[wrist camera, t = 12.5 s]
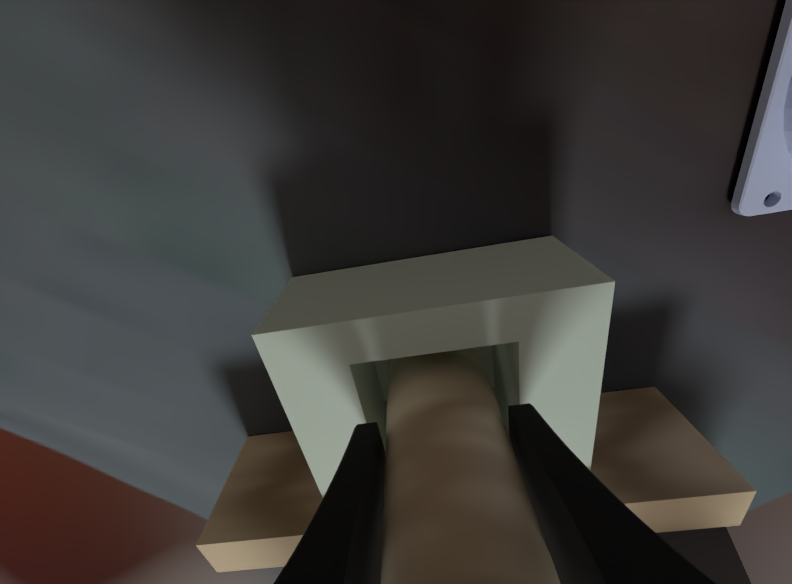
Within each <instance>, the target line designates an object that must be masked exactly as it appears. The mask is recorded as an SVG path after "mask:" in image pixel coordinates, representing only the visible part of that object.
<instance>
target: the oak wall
mask: <svg viewBox="0 0 792 584" xmlns="http://www.w3.org/2000/svg"><path fill="white" fill-rule="evenodd" d="M590 471H591V472H592V473H593V474H594V475H595V476H596V477H597V478H598V479H599V480H600V481H601V482H602V483H603V484H604V485H605V486H606V487H607V488H608V489H609V490H610V491H611V492H612V493H613V494H614V495H615V496H616V497H617V498H618V499H619V500H620V501H622V502H623V503H624V504H625V505H626V506H627V507H628V508H629V509H630V510H631V511H632V512H633V513H634V514H635V515H636V516H638V517H639V518H640V519H641V520H642V521H643V522H644V523H645V524H646V525H647V526H649V527H650V528H651V529H652V530H653V531H654V532H655V533H660V532H671V531H682V530H693V529H704V528H716V527H727V526H738V525H740V524H741V522H742V520H743V518H744V516H745V514H746V512H747V510H748V508H749V506H750V504H751V502H752V500H753V498H754V496H755V494H756V490H755V489H754V488H753V487H752V486H751V485H750V484H749V483H748V482H747V481H746V479H745V478H744V477H743V476H742V475H741V474H740V473H739V472H738V471H737V470H736V469H735V468H734V467H733V466H732V465H731V464H730V463H729V462H728V461H727V460H726V459H725V458H724V457H723V456H722V455H721V454H720V453H719V452H718V451H717V450H716V449H715V448H714V447H713V446H712V445H711V444H710V443H709V442H708V440H707V439H706V438H705V437H704V436H703V435H702V434H701V433H700V432H699V431H698V430H697V429H696V428H695V427H694V426H693V425H692V424H691V423H690V422H689V421H688V420H687V419H686V418H685V417H684V416H683V415H682V414H681V413H680V412H679V411H678V410H677V409H676V408H675V407H674V406H673V405H672V404H671V403H670V401H669V400H668V399H667V398H666V397H665V396H664V395H663V394H662V393H661V392H660V391H659V390H658V389H657V388H656V387H655V386H654V387H646V388H638V389H630V390H622V391H614V392H605V393H601V394H600V401H599V409H598V417H597V424H596V432H595V440H594V447H593V455H592V462H591V470H590ZM322 499H323V497H322V495H321V493H320V491H319V488H318V486H317V484H316V481H315V479H314V477H313V475H312V472H311V470H310V468H309V465H308V463H307V461H306V459H305V456H304V454H303V452H302V449H301V447H300V445H299V443H298V440H297V438H296V436H295V433H294V431H288V432H280V433H272V434H264V435H256V436H248V437H247V439H246V441H245V443H244V445H243V448H242V450H241V452H240V454H239V456H238V458H237V460H236V462H235V464H234V467H233V469H232V471H231V473H230V475H229V477H228V479H227V481H226V483H225V485H224V488H223V490H222V492H221V494H220V496H219V498H218V500H217V502H216V504H215V507H214V509H213V511H212V513H211V515H210V517H209V519H208V521H207V523H206V525H205V528H204V530H203V532H202V534H201V536H200V538H199V540H198V542H197V544H196V546H197V547H198V549H199V550H200V551H201V552H202V554H203V555H204V556H205V558H206V559H207V560H208V561H209V563H210V564H211V565H212V566H213V568H214V569H215V570H216V571H217V572H226V571H237V570H248V569H259V568H271V567H282V566H285V565H286V563H287V562H288V560H289V558H290V557H291V555H292V553H293V552H294V550H295V548H296V547H297V545H298V543H299V542H300V540H301V538H302V536H303V535H304V533H305V531H306V529H307V527H308V525H309V524H310V522H311V520H312V518H313V516H314V514H315V513H316V511H317V509H318V507H319V505H320V503H321V501H322Z"/></svg>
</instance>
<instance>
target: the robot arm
mask: <svg viewBox="0 0 792 584" xmlns="http://www.w3.org/2000/svg"><path fill="white" fill-rule="evenodd" d="M767 195H769V197H768V199H767V200H766V201H765V202H764V200H765V198H766V196H767ZM731 208H732V210H733V212H735V213H737V214H740V215H744V216H754V215H761V214H767V213H773V212H780V211H786V210H792V0H786V2H785V6H784V10H783V13H782V17H781V21H780V24H779V28H778V32H777V36H776V39H775V43H774V47H773V50H772V54H771V58H770V61H769V65H768V69H767V73H766V76H765V80H764V84H763V87H762V91H761V95H760V98H759V102H758V106H757V110H756V113H755V117H754V121H753V124H752V128H751V132H750V135H749V139H748V143H747V147H746V150H745V154H744V158H743V161H742V165H741V169H740V172H739V176H738V180H737V184H736V187H735V191H734V195H733V198H732V202H731ZM508 417H509V438H510V441H511V444H512V447H513V450H514V452H515V455H516V458H517V461H518V464H519V467H520V469H521V472H522V475H523V478H524V481H525V484H526V487H527V489H528V492H529V495H530V498H531V501H532V504H533V506H534V509H535V512H536V515H537V518H538V521H539V524H540V526H541V529H542V532H543V535H544V538H545V541H546V543H547V546H548V549H549V552H550V555H551V558H552V561H553V563H554V566H555V569H556V572H557V575H558V578H559V580H560V583H561V584H717V583H715V582H714V581H713V580H711V579H710V578H709V577H708V576H706V575H705V574H704V573H703V572H701V571H700V570H699V569H698V568H697V567H695V566H694V565H693V564H692V563H691V562H689V561H688V560H687V559H686V558H685V557H683V556H682V555H681V554H680V553H679V552H677V551H676V550H675V549H674V548H673V547H672V546H670V545H669V544H668V543H667V542H666V541H665V540H663V539H662V538H661V537H660V536H659V535H658V534H657V533H655V532H654V531H653V530H652V529H651V528H650V527H649V526H647V525H646V524H645V523H644V522H643V521H642V520H641V519H640V518H639V517H638V516H636V515H635V514H634V513H633V512H632V511H631V510H630V509H629V508H628V507H627V506H626V505H625V504H624V503H623V502H622V501H620V500H619V499H618V498H617V497H616V496H615V495H614V494H613V493H612V492H611V491H610V490H609V489H608V488H607V487H606V486H605V485H604V484H603V483H602V482H601V481H600V480H599V479H598V478H597V477H596V476H595V475H594V474H593V473H592V472H591V471H590V470H589V469H588V468H587V467H586V466H585V465H584V463H583V462H582V461H581V460H580V459H579V458H578V457H577V456H576V455H575V454H574V453H573V452H572V451H571V450H570V449H569V448H568V446H567V445H566V444H565V443H564V442H563V441H562V440H561V439H560V437H559V436H558V435H557V434H556V433H555V432H554V431H553V429H552V428H551V427H550V426H549V425H548V424H547V422H546V421H545V420H544V419H543V417H542V416H541V415H540V414H539V413H538V411H537V410H536V409H535V407H534V406H533V405H531V404H530V403H527V404H519V405H511V406H508ZM384 478H385V449H384V445H383V442H382V438H381V434H380V431H379V427H378V424H377V422H372V423H364V424H357V425H356V426H355V428H354V430H353V433H352V436H351V438H350V441H349V443H348V446H347V448H346V450H345V453H344V455H343V457H342V459H341V462H340V464H339V466H338V468H337V471H336V473H335V475H334V477H333V479H332V481H331V483H330V485H329V487H328V489H327V491H326V493H325V495H324V497H323V499H322V501H321V503H320V505H319V507H318V509H317V511H316V513H315V514H314V516H313V518H312V520H311V522H310V524H309V525H308V527H307V529H306V531H305V533H304V535H303V536H302V538H301V540H300V542H299V543H298V545H297V547H296V548H295V550H294V552H293V553H292V555H291V557H290V558H289V560H288V562H287V563H286V565H285V566H284V568H283V570H282V571H281V573H280V574H279V576H278V578H277V579H276V581H275V582H274V584H381V559H382V532H383V505H384Z"/></svg>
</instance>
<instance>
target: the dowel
mask: <svg viewBox="0 0 792 584" xmlns="http://www.w3.org/2000/svg"><path fill="white" fill-rule="evenodd" d="M381 584H561V583H560V580H559V578H558V575H557V572H556V569H555V566H554V563H553V561H552V558H551V555H550V552H549V549H548V546H547V543H546V541H545V538H544V535H543V532H542V529H541V526H540V524H539V521H538V518H537V515H536V512H535V509H534V506H533V504H532V501H531V498H530V495H529V492H528V489H527V487H526V484H525V481H524V478H523V475H522V472H521V469H520V467H519V464H518V461H517V458H516V455H515V452H514V450H513V447H512V444H511V441H510V438H509V435H508V432H507V430H506V427H505V424H504V421H503V418H502V415H501V413H500V410H499V407H498V404H497V401H496V398H495V396H494V393H493V390H492V387H491V384H490V381H489V378H488V376H487V373H486V370H485V367H484V364H483V361H482V359H481V356H480V353H479V350H478V347H475V348H468V349H460V350H453V351H446V352H438V353H431V354H424V355H417V356H409V357H402V358H395V359H389V371H388V398H387V425H386V451H385V478H384V505H383V532H382V559H381Z"/></svg>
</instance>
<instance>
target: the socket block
mask: <svg viewBox="0 0 792 584" xmlns="http://www.w3.org/2000/svg"><path fill="white" fill-rule="evenodd" d="M614 287H615V281H614V280H613V279H611V278H610V277H609V276H607V275H606V274H604V273H603V272H602V271H600V270H599V269H598V268H596V267H595V266H593V265H592V264H591V263H589V262H588V261H587V260H585V259H584V258H583V257H581V256H580V255H578V254H577V253H576V252H574V251H573V250H572V249H570V248H569V247H567V246H566V245H565V244H563V243H562V242H561V241H559V240H558V239H557V238H555V237H554V236H546V237H540V238H534V239H527V240H521V241H515V242H509V243H502V244H496V245H490V246H484V247H478V248H471V249H465V250H459V251H453V252H446V253H440V254H434V255H428V256H422V257H415V258H409V259H403V260H397V261H390V262H384V263H378V264H372V265H366V266H359V267H353V268H347V269H341V270H334V271H328V272H322V273H316V274H310V275H303V276H297V277H291V278H290V280H289V281H288V283H287V284H286V286H285V287H284V288H283V290H282V291H281V293H280V294H279V296H278V297H277V299H276V300H275V302H274V303H273V305H272V306H271V307H270V309H269V310H268V312H267V313H266V315H265V316H264V318H263V319H262V321H261V322H260V324H259V325H258V327H257V328H256V329H255V331H254V332H253V334H252V337H253V340H254V342H255V344H256V347H257V349H258V351H259V353H260V356H261V358H262V360H263V363H264V365H265V367H266V369H267V372H268V374H269V376H270V379H271V381H272V383H273V385H274V388H275V390H276V392H277V395H278V397H279V399H280V401H281V404H282V406H283V408H284V411H285V413H286V415H287V417H288V420H289V422H290V424H291V427H292V429H293V431H294V433H295V436H296V438H297V440H298V443H299V445H300V447H301V449H302V452H303V454H304V456H305V459H306V461H307V463H308V465H309V468H310V470H311V472H312V475H313V477H314V479H315V481H316V484H317V486H318V488H319V491H320V493H321V495H322V497H324V495H325V493H326V491H327V489H328V487H329V485H330V483H331V481H332V479H333V477H334V475H335V473H336V471H337V468H338V466H339V464H340V462H341V459H342V457H343V455H344V453H345V450H346V448H347V446H348V443H349V441H350V438H351V436H352V433H353V430H354V428H355V426H356V425H357V424H364V423H372V422H377V424H378V427H379V431H380V434H381V438H382V442H383V445H384V449H385V451H386V425H387V398H388V371H389V359H395V358H402V357H409V356H417V355H424V354H431V353H438V352H446V351H453V350H460V349H468V348H475V347H478V350H479V353H480V356H481V359H482V361H483V364H484V367H485V370H486V373H487V376H488V378H489V381H490V384H491V387H492V390H493V393H494V396H495V398H496V401H497V404H498V407H499V410H500V413H501V415H502V418H503V421H504V424H505V427H506V430H507V432H508V435H509V417H508V406H511V405H519V404H527V403H530V404H531V405H533V406H534V407H535V409H536V410H537V411H538V413H539V414H540V415H541V416H542V417H543V419H544V420H545V421H546V422H547V424H548V425H549V426H550V427H551V428H552V429H553V431H554V432H555V433H556V434H557V435H558V436H559V437H560V439H561V440H562V441H563V442H564V443H565V444H566V445H567V446H568V448H569V449H570V450H571V451H572V452H573V453H574V454H575V455H576V456H577V457H578V458H579V459H580V460H581V461H582V462H583V463H584V465H585V466H586V467H587V468H588V469H589V470H591V462H592V455H593V447H594V440H595V432H596V424H597V417H598V409H599V401H600V394H601V386H602V378H603V371H604V363H605V356H606V348H607V340H608V333H609V325H610V317H611V310H612V302H613V295H614Z"/></svg>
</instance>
